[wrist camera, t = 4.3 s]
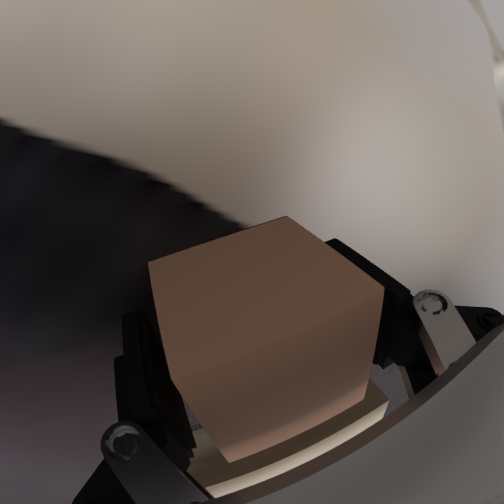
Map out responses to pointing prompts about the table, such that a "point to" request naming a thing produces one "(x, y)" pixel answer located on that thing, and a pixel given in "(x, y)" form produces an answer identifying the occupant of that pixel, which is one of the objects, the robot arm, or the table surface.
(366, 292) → the terracotta cube
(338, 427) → the birch block
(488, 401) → the robot arm
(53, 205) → the table surface
